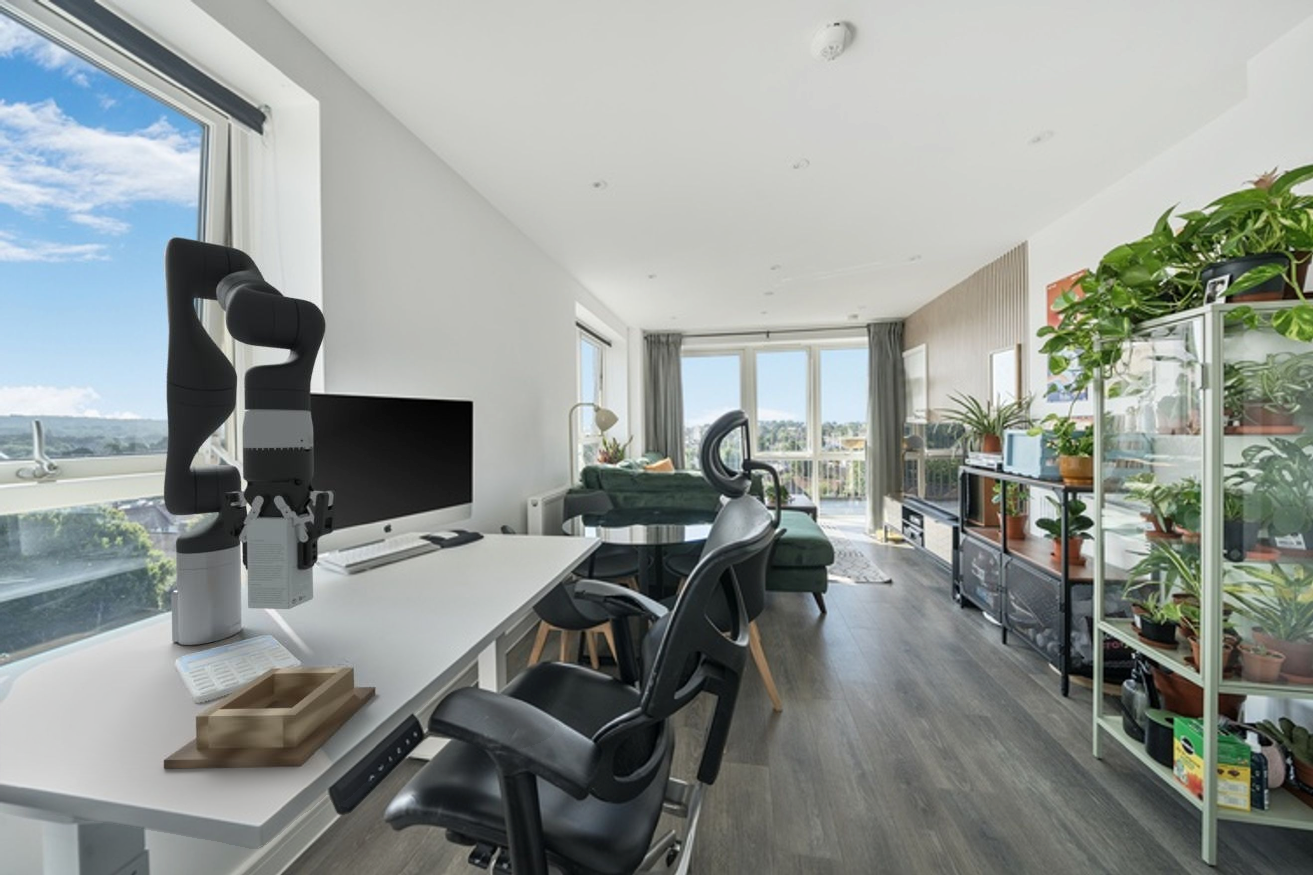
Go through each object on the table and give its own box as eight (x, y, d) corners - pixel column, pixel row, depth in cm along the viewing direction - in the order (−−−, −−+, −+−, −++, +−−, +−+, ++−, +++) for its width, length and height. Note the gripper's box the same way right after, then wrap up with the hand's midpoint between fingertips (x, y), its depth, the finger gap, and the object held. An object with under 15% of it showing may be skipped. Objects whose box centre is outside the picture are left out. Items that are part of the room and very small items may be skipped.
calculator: (195, 708, 71) (195, 695, 71) (173, 667, 83) (173, 656, 83) (304, 673, 81) (304, 661, 81) (270, 640, 94) (270, 631, 94)
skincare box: (314, 599, 68) (313, 513, 67) (288, 610, 63) (287, 518, 63) (274, 597, 68) (273, 512, 68) (245, 608, 64) (244, 518, 64)
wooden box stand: (163, 768, 58) (163, 726, 58) (268, 694, 74) (268, 662, 74) (300, 765, 58) (300, 724, 58) (375, 693, 74) (375, 660, 74)
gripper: (199, 445, 61) (201, 577, 62) (314, 445, 62) (316, 576, 62) (247, 443, 69) (249, 561, 69) (350, 443, 69) (351, 560, 70)
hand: (280, 567), depth 66 cm, fingers closed on skincare box, 6 cm apart
